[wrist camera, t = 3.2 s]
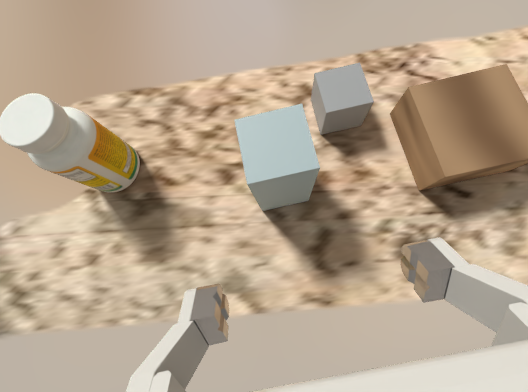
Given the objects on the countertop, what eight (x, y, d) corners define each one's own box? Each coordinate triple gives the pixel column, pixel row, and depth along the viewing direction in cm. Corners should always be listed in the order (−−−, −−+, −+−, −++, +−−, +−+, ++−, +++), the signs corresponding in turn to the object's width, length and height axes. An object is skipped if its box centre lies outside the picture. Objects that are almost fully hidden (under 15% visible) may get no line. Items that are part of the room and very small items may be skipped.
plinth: (418, 190, 23) (445, 176, 19) (389, 113, 25) (408, 87, 21) (508, 170, 23) (554, 152, 19) (472, 94, 25) (506, 64, 21)
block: (320, 135, 25) (326, 112, 21) (310, 100, 26) (314, 73, 22) (360, 126, 25) (373, 101, 21) (349, 91, 26) (359, 62, 22)
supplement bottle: (111, 204, 25) (9, 173, 16) (83, 168, 27) (-26, 121, 17) (152, 167, 26) (76, 117, 17) (123, 134, 27) (37, 70, 18)
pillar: (262, 211, 24) (247, 184, 15) (253, 167, 25) (234, 119, 16) (308, 200, 24) (319, 167, 15) (297, 157, 25) (301, 103, 16)
